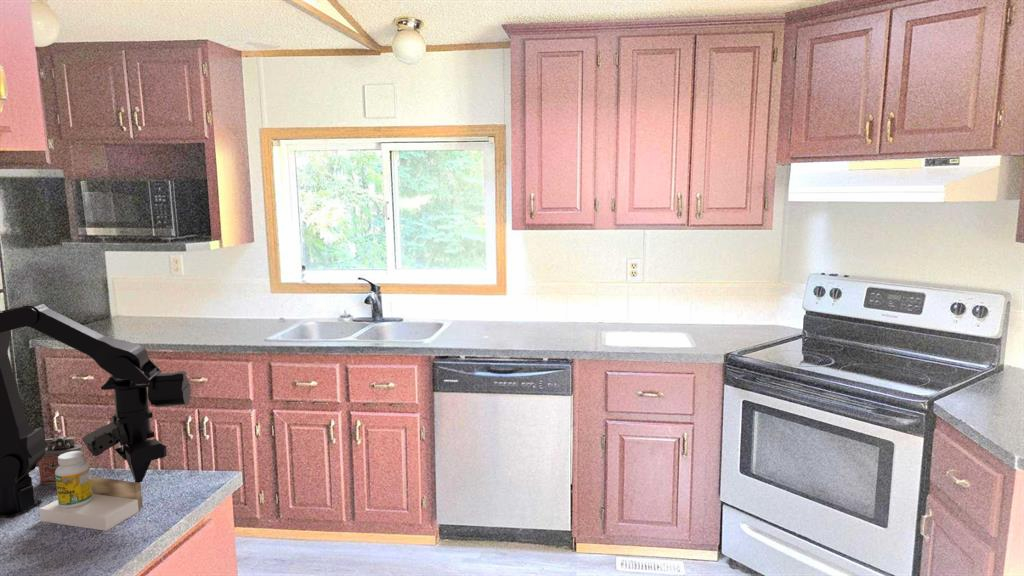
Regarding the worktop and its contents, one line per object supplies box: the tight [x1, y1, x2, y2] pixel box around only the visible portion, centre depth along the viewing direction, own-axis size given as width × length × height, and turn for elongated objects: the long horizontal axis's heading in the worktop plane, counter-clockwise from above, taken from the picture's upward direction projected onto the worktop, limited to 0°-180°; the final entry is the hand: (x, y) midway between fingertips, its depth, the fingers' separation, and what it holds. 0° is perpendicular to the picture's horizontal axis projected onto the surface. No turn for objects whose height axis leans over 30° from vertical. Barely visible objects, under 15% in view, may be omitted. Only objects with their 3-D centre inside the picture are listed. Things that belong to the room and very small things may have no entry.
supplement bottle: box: [55, 450, 92, 508], centre depth 118 cm, size 5×5×10 cm
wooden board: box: [90, 475, 144, 510], centre depth 122 cm, size 13×1×5 cm, turn 76°
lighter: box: [38, 435, 83, 488], centre depth 132 cm, size 8×3×10 cm, turn 111°
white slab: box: [39, 494, 140, 532], centre depth 119 cm, size 15×9×6 cm, turn 77°
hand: (138, 482), depth 126 cm, fingers closed
